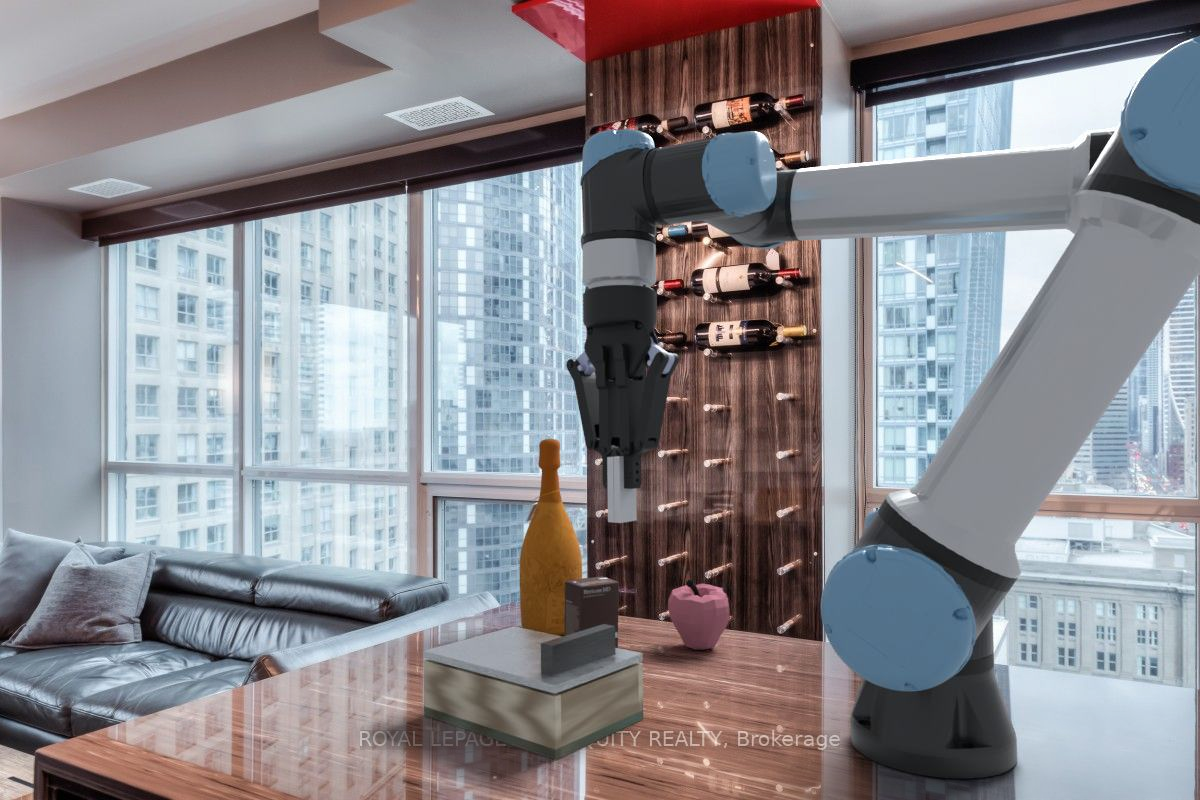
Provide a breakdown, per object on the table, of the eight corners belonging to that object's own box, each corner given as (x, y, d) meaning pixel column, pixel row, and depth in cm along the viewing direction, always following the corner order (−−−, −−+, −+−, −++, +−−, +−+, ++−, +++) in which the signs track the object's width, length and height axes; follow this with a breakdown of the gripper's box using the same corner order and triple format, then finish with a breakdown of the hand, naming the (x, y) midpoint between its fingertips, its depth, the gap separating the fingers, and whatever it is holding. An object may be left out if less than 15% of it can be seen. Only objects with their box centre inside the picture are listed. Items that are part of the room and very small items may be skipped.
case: (643, 719, 90) (642, 663, 90) (555, 760, 79) (555, 696, 79) (514, 683, 102) (514, 635, 103) (424, 715, 92) (423, 660, 92)
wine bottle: (557, 619, 136) (555, 438, 137) (595, 630, 129) (593, 438, 130) (507, 629, 130) (506, 439, 131) (544, 641, 122) (542, 439, 123)
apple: (733, 657, 113) (731, 583, 114) (670, 656, 114) (668, 584, 114) (725, 638, 123) (724, 571, 123) (667, 639, 123) (666, 571, 124)
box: (581, 683, 103) (580, 585, 103) (563, 674, 106) (562, 580, 107) (621, 674, 106) (620, 580, 106) (602, 666, 110) (600, 575, 110)
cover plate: (642, 660, 90) (642, 625, 90) (555, 693, 79) (554, 653, 79) (514, 632, 103) (513, 602, 103) (423, 658, 92) (423, 623, 92)
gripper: (694, 285, 83) (697, 521, 82) (594, 299, 91) (596, 514, 90) (649, 275, 77) (653, 529, 76) (547, 291, 85) (549, 520, 84)
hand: (622, 521), depth 83 cm, fingers closed
